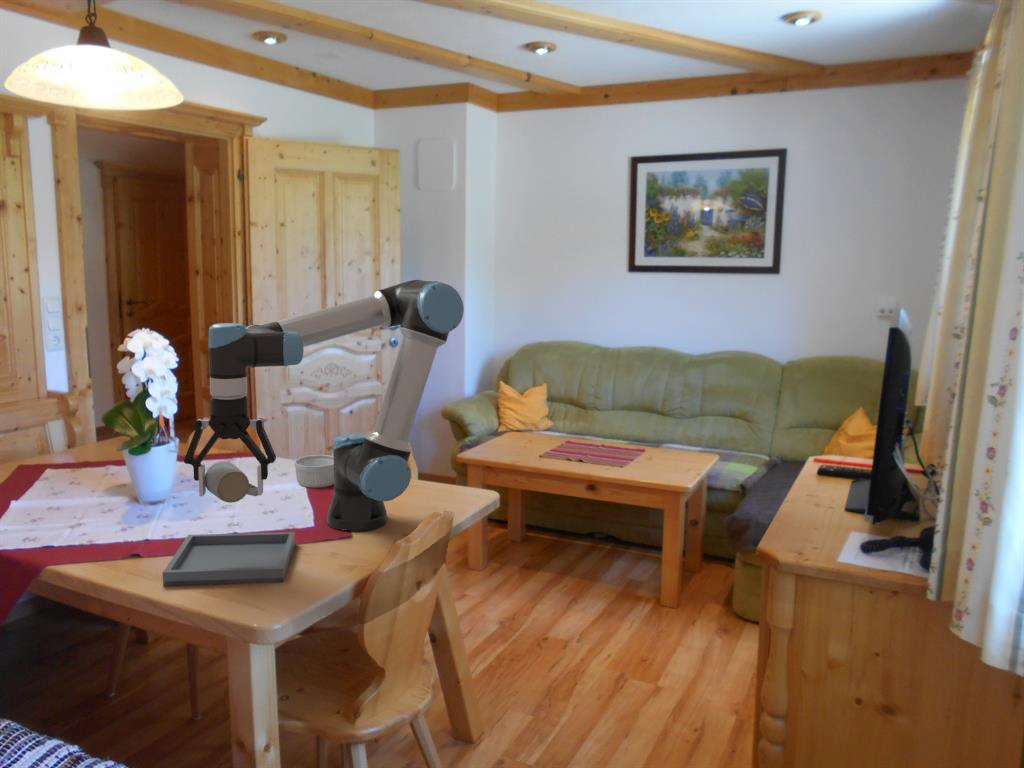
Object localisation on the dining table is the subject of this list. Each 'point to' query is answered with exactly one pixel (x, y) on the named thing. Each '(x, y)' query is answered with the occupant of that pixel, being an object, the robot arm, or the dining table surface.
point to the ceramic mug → (228, 482)
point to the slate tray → (230, 559)
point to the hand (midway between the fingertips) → (231, 494)
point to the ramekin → (315, 471)
